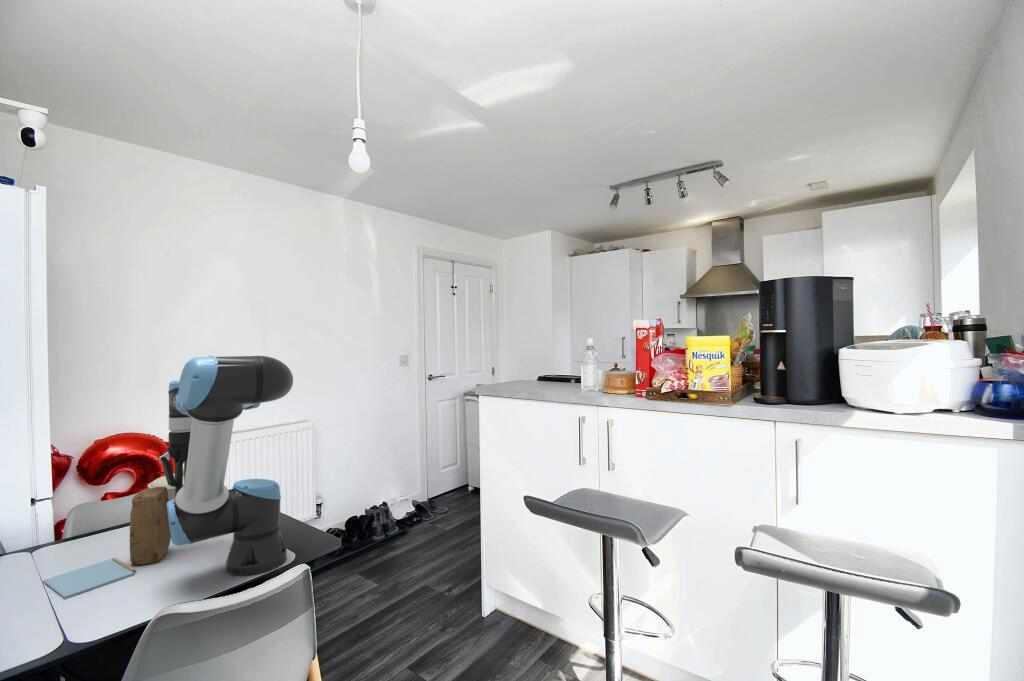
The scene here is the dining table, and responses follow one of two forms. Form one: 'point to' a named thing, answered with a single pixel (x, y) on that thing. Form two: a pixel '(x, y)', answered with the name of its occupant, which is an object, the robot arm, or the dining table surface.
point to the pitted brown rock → (149, 526)
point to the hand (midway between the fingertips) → (183, 506)
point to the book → (89, 577)
